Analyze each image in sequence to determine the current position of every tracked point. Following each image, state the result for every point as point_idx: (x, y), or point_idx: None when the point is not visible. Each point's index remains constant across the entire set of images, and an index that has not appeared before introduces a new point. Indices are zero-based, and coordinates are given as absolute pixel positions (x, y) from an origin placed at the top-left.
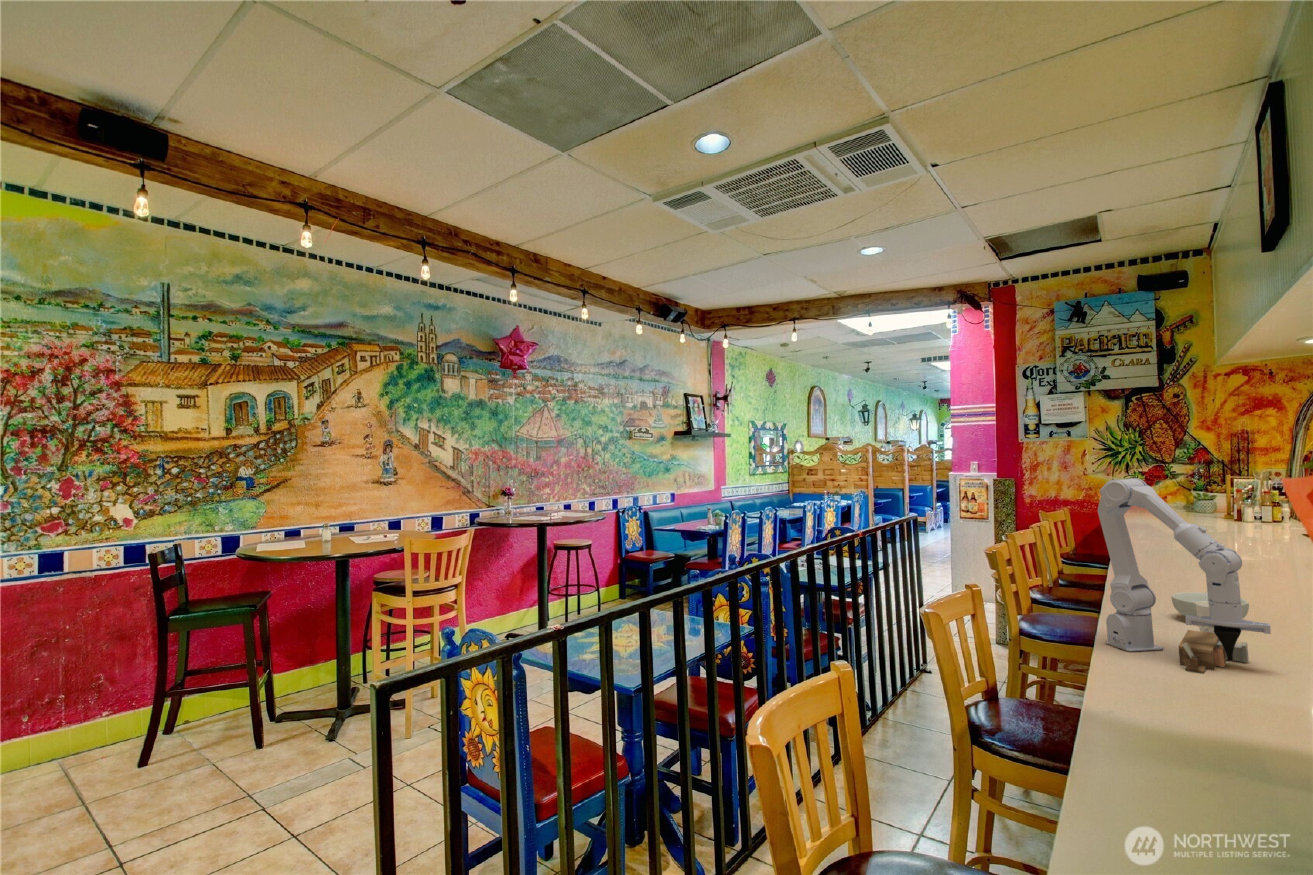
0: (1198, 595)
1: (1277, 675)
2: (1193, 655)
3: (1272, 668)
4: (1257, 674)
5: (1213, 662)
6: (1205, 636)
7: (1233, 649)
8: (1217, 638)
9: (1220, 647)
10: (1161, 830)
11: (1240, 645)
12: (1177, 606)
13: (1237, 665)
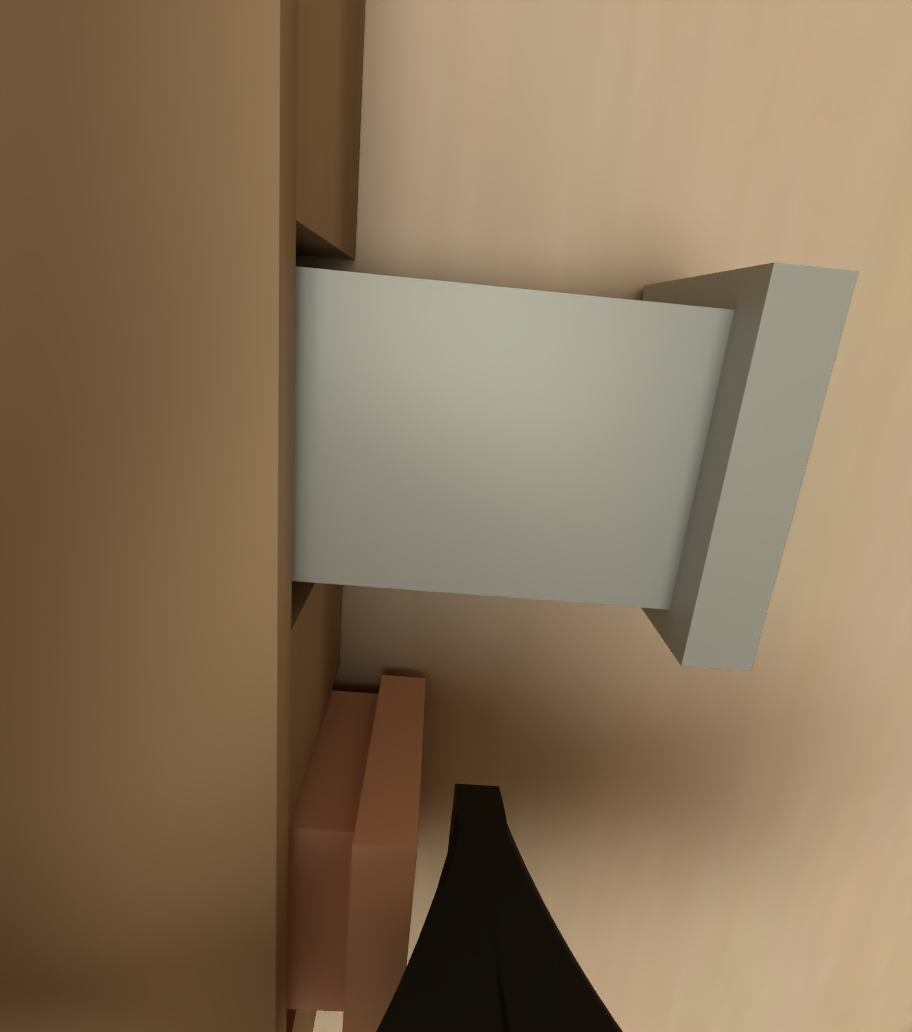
0: None
1: (824, 832)
2: None
3: (855, 596)
4: (663, 884)
5: (313, 1016)
6: (15, 309)
7: (532, 895)
8: (280, 364)
9: (362, 935)
10: None
11: (681, 422)
12: None
13: (530, 662)
